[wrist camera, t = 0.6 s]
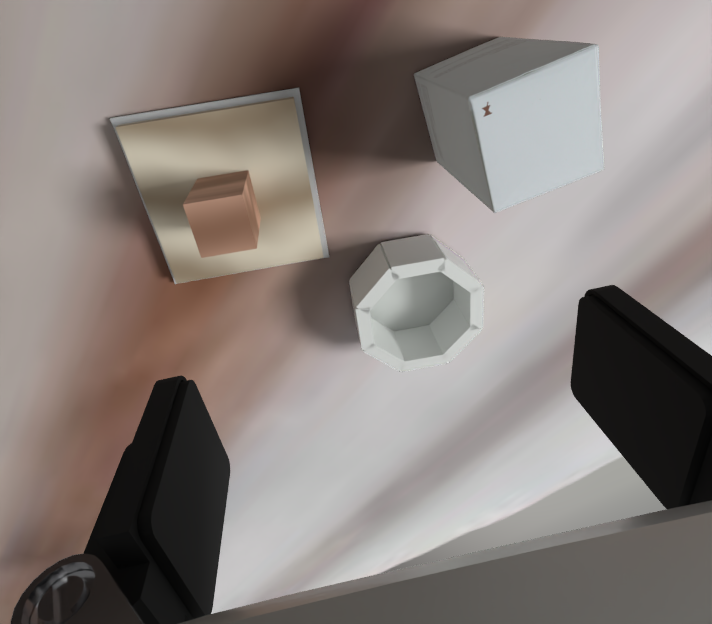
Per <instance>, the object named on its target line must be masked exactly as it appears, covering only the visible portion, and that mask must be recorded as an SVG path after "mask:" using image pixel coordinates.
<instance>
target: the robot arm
mask: <svg viewBox="0 0 712 624" xmlns="http://www.w3.org/2000/svg"><path fill="white" fill-rule="evenodd" d="M571 389H572V392H573V395H574V396H575V398H576V399H577V400H578V402H579V403H580V404H581V405H582V407H583V408H584V409H585V410H586V412H587V413H588V414H589V415H590V416H591V418H592V419H593V420H594V421H595V423H596V424H597V425H598V426H599V427H600V429H601V430H602V431H603V432H604V434H605V435H606V436H607V437H608V438H609V440H610V441H611V442H612V443H613V445H614V446H615V447H616V448H617V449H618V451H619V452H620V453H621V454H622V456H623V457H624V458H625V459H626V460H627V462H628V463H629V464H630V465H631V467H632V468H633V469H634V470H635V471H636V473H637V474H638V475H639V476H640V478H642V480H643V481H644V482H645V484H646V485H647V486H648V487H649V489H650V490H651V491H652V492H653V493H654V495H655V496H656V497H657V498H658V500H659V501H660V502H661V503H662V504H663V506H664V507H665V508H666V509H667V510H662V511H658V512H653V513H649V514H644V515H640V516H635V517H631V518H626V519H621V520H617V521H612V522H608V523H603V524H599V525H595V526H590V527H585V528H581V529H576V530H571V531H567V532H562V533H558V534H553V535H549V536H545V537H540V538H535V539H531V540H527V541H522V542H518V543H514V544H509V545H505V546H500V547H496V548H491V549H487V550H482V551H478V552H473V553H469V554H464V555H461V556H456V557H451V558H447V559H443V560H438V561H434V562H429V563H425V564H420V565H416V566H412V567H407V568H403V569H399V570H394V571H390V572H386V573H381V574H377V575H373V576H368V577H364V578H360V579H355V580H351V581H347V582H342V583H338V584H334V585H329V586H325V587H321V588H316V589H312V590H308V591H304V592H299V593H295V594H291V595H286V596H282V597H278V598H274V599H270V600H266V601H262V602H258V603H254V604H250V605H246V606H242V607H238V608H234V609H230V610H226V611H222V612H218V613H214V614H211V612H212V607H213V600H214V592H215V585H216V577H217V569H218V562H219V554H220V546H221V539H222V531H223V523H224V516H225V508H226V500H227V493H228V485H229V477H230V463H229V459H228V456H227V454H226V452H225V449H224V447H223V445H222V443H221V440H220V438H219V436H218V434H217V431H216V429H215V427H214V424H213V422H212V420H211V418H210V415H209V413H208V411H207V409H206V406H205V404H204V402H203V400H202V397H201V395H200V393H199V391H198V388H197V386H196V384H195V382H194V381H193V380H188V381H187V380H186V378H185V377H184V376H177V377H172V378H167V379H163V380H158V381H156V383H155V385H154V387H153V390H152V393H151V395H150V398H149V400H148V403H147V406H146V408H145V411H144V413H143V416H142V419H141V421H140V424H139V426H138V429H137V431H136V434H135V437H134V439H133V442H132V444H130V445H129V446H127V448H126V449H125V451H124V453H123V456H122V458H121V461H120V463H119V466H118V468H117V471H116V473H115V476H114V478H113V481H112V483H111V486H110V488H109V491H108V493H107V496H106V498H105V501H104V503H103V506H102V508H101V511H100V513H99V516H98V518H97V521H96V523H95V526H94V528H93V531H92V533H91V536H90V539H89V541H88V544H87V546H86V549H85V551H84V554H78V555H72V556H70V557H67V558H65V559H62V560H60V561H58V562H57V563H55V564H54V565H52V566H50V567H49V568H47V569H46V570H45V571H44V572H42V573H41V574H40V575H39V576H38V577H37V578H36V579H35V580H33V582H32V583H31V584H30V585H29V586H28V588H27V589H26V590H25V591H24V593H23V594H22V595H21V597H20V599H19V601H18V603H17V604H16V606H15V608H14V611H13V615H12V619H11V624H712V356H711V355H710V354H708V353H707V352H706V351H704V350H703V349H702V348H700V347H699V346H697V345H696V344H695V343H693V342H692V341H691V340H689V339H688V338H687V337H685V336H684V335H682V334H681V333H680V332H678V331H677V330H676V329H674V328H673V327H672V326H670V325H669V324H667V323H666V322H665V321H663V320H662V319H661V318H659V317H658V316H657V315H655V314H654V313H652V312H651V311H650V310H648V309H647V308H646V307H644V306H643V305H642V304H640V303H639V302H637V301H636V300H635V299H633V298H632V297H631V296H629V295H628V294H627V293H625V292H624V291H622V290H621V289H620V288H618V287H617V286H615V285H610V286H605V287H600V288H595V289H591V290H588V291H587V292H586V294H585V297H582V298H581V299H580V300H579V305H578V315H577V325H576V335H575V345H574V355H573V365H572V375H571Z"/></svg>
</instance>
